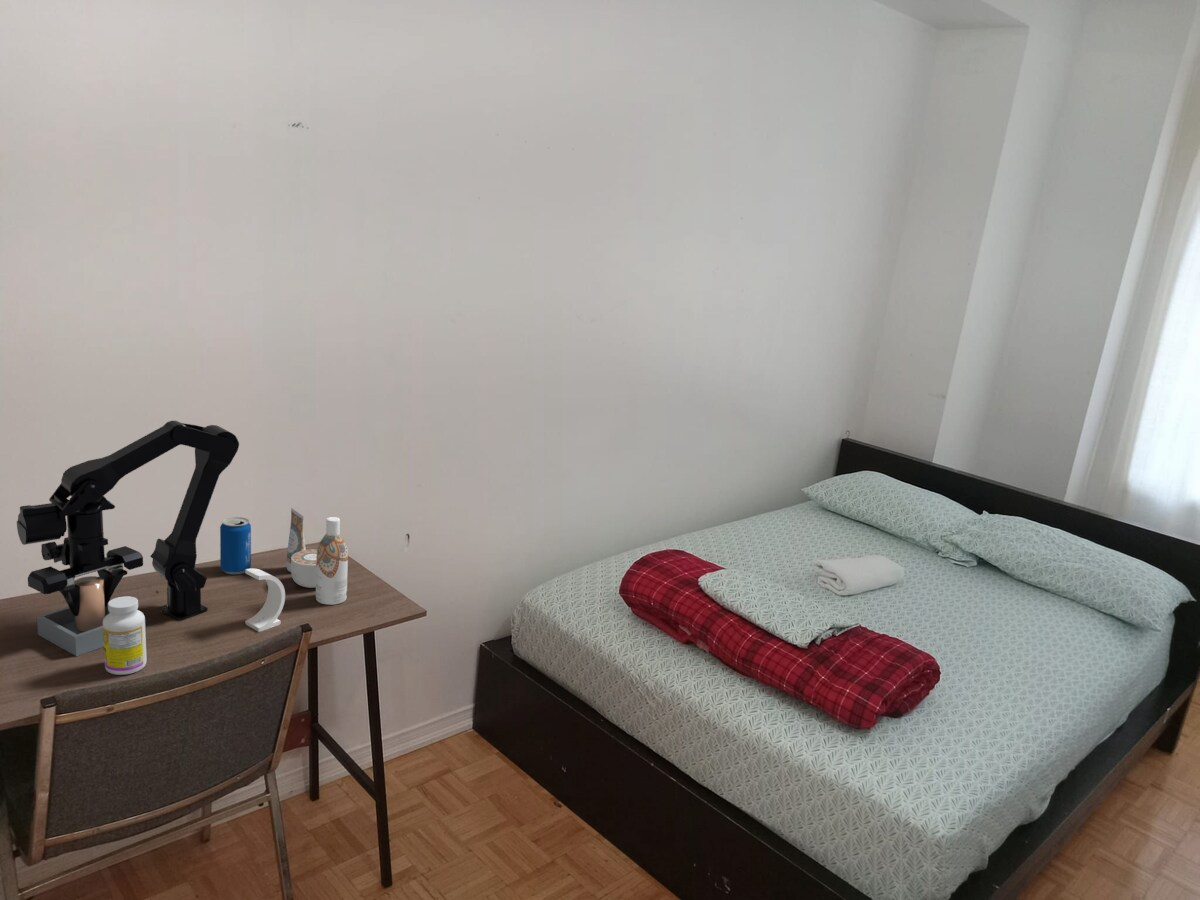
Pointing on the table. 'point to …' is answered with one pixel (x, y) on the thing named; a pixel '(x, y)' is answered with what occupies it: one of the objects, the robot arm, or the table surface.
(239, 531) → the beverage can
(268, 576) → the headphone stand
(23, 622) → the table surface
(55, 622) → the tray
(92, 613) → the cup
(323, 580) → the cosmetic set
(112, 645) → the supplement bottle
